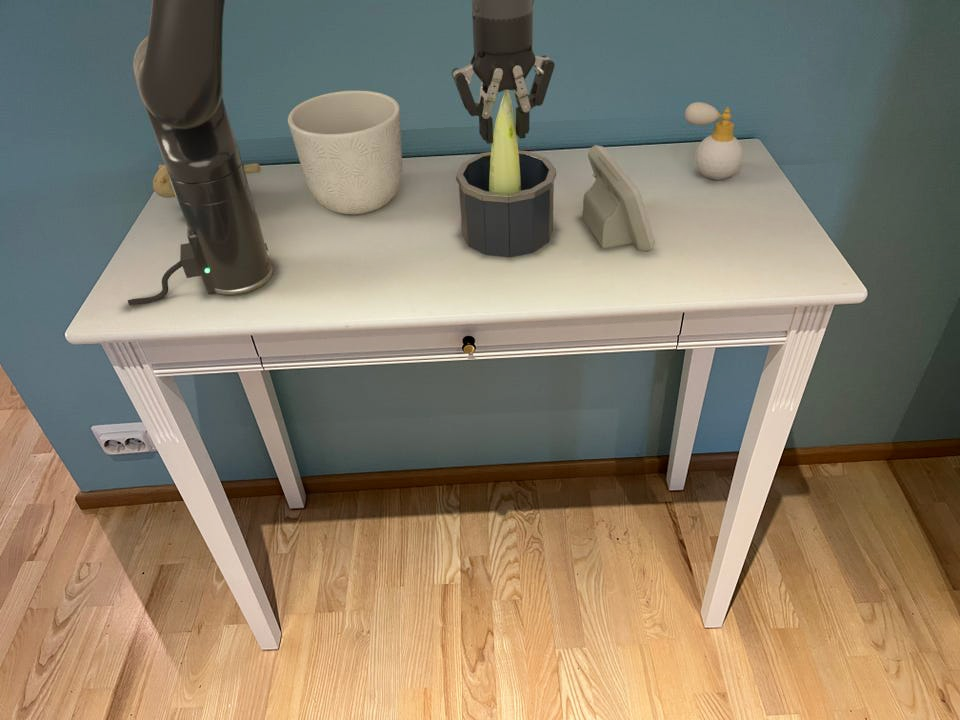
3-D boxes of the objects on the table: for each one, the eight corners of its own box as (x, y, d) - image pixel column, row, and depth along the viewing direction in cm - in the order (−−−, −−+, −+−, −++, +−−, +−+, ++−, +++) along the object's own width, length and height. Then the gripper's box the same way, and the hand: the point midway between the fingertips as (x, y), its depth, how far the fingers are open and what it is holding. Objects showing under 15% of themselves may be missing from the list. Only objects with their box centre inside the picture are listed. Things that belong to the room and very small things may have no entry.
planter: (384, 234, 113) (370, 140, 103) (288, 219, 118) (266, 129, 108) (425, 182, 125) (416, 94, 115) (336, 171, 130) (320, 86, 120)
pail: (476, 265, 106) (472, 203, 99) (451, 218, 116) (446, 159, 109) (567, 247, 108) (569, 185, 101) (535, 202, 118) (535, 143, 112)
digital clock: (656, 256, 105) (665, 189, 98) (593, 260, 105) (597, 193, 98) (634, 200, 117) (641, 137, 110) (578, 204, 117) (581, 141, 110)
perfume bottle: (745, 184, 120) (760, 113, 112) (686, 189, 119) (697, 118, 112) (730, 163, 125) (743, 94, 117) (674, 168, 125) (683, 98, 117)
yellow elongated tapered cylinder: (530, 224, 110) (532, 95, 97) (503, 235, 108) (500, 105, 95) (509, 209, 113) (507, 83, 101) (481, 219, 111) (476, 92, 99)
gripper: (546, -8, 95) (543, 120, 106) (439, 5, 92) (448, 136, 103) (567, 8, 89) (562, 142, 101) (454, 23, 87) (462, 158, 98)
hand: (504, 138), depth 102 cm, fingers closed on yellow elongated tapered cylinder, 4 cm apart
